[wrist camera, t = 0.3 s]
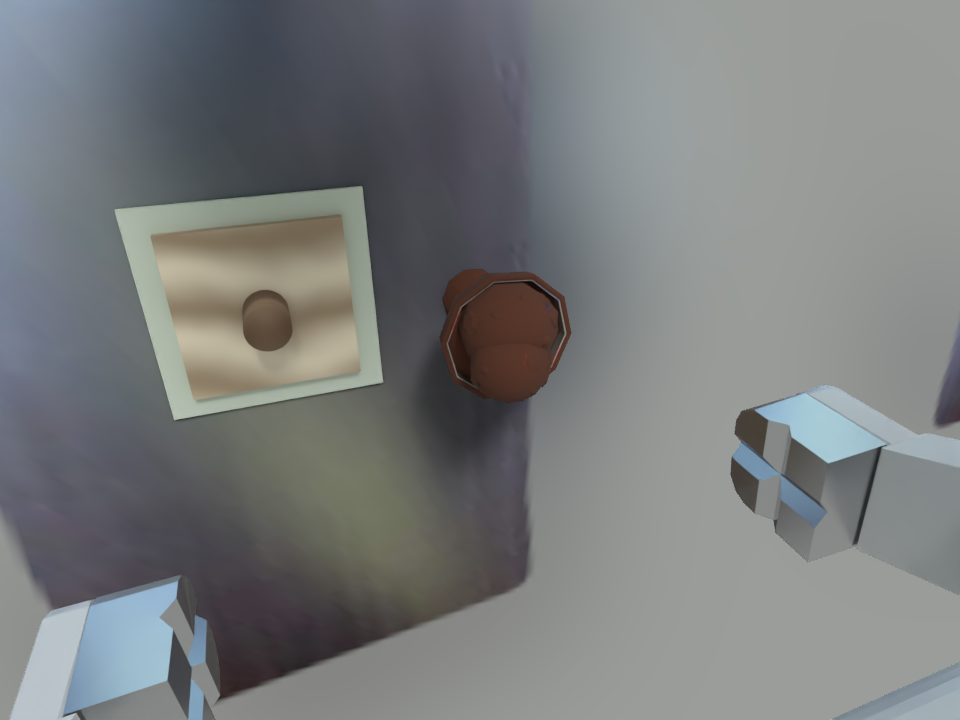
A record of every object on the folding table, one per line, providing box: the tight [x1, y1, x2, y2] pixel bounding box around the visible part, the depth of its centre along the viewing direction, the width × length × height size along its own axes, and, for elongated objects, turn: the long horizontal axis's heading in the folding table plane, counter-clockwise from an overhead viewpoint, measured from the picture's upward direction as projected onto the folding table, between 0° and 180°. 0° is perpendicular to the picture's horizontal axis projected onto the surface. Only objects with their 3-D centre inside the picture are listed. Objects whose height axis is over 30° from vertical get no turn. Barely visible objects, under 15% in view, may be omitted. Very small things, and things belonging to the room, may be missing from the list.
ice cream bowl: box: [440, 269, 571, 403], centre depth 54 cm, size 11×11×15 cm
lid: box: [150, 214, 361, 400], centre depth 52 cm, size 14×14×5 cm
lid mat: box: [114, 186, 383, 420], centre depth 54 cm, size 18×18×1 cm
